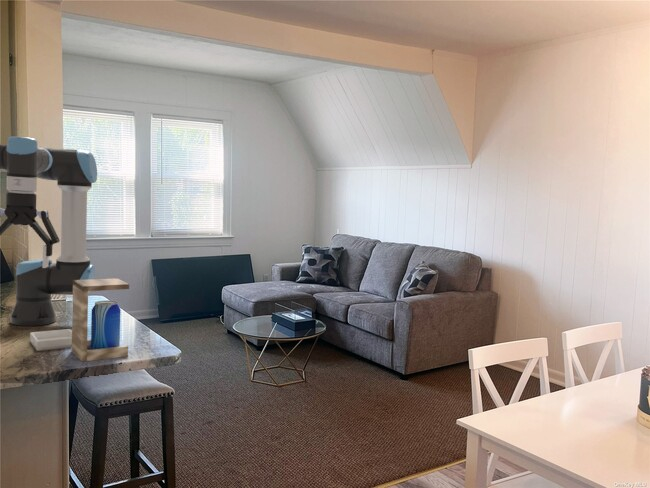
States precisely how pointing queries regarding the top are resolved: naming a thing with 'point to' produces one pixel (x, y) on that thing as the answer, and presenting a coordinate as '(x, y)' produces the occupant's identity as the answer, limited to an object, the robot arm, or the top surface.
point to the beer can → (105, 325)
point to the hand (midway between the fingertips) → (20, 266)
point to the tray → (51, 339)
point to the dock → (81, 319)
